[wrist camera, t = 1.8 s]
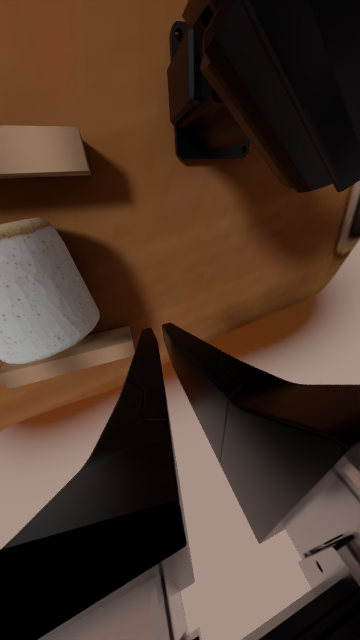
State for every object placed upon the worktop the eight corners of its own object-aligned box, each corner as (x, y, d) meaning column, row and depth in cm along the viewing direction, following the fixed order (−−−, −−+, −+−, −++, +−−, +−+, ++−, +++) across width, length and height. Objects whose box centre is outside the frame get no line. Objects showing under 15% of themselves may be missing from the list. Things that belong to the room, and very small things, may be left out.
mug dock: (82, 139, 13) (77, 126, 11) (132, 338, 23) (135, 355, 21) (-151, 139, 11) (-225, 122, 8) (20, 366, 21) (9, 388, 18)
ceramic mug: (58, 208, 15) (24, 217, 9) (102, 299, 20) (99, 345, 14) (-98, 244, 13) (-274, 285, 7) (-10, 333, 18) (-70, 403, 12)
